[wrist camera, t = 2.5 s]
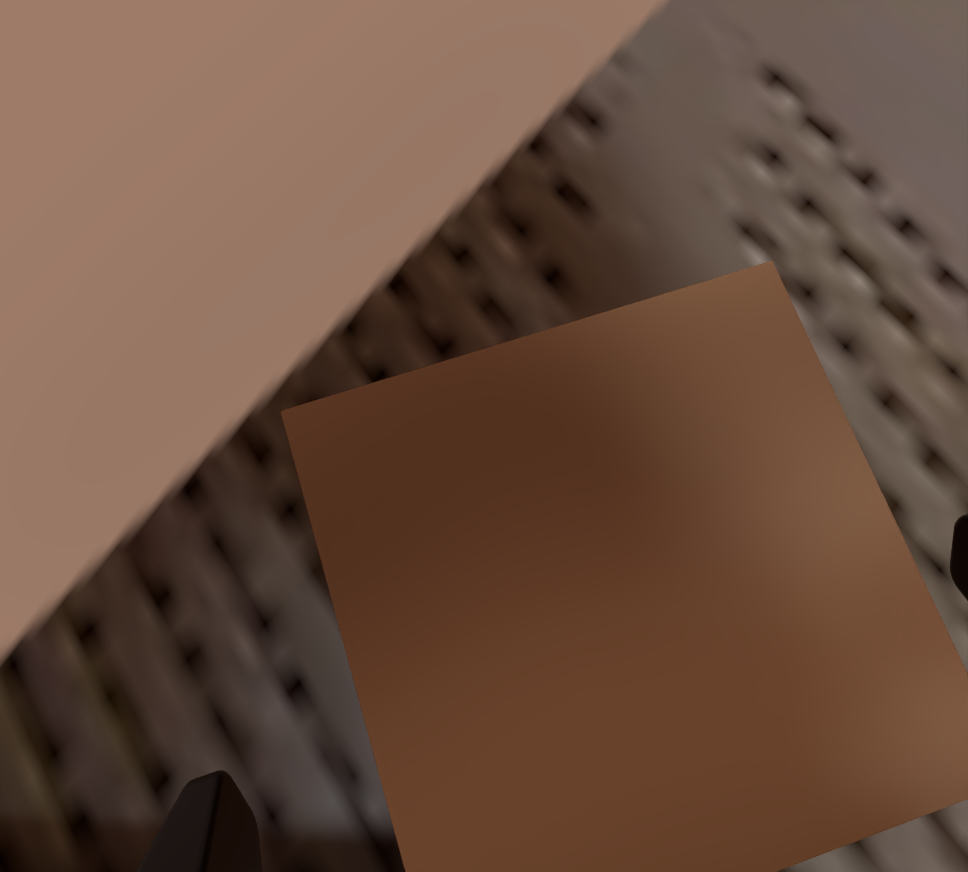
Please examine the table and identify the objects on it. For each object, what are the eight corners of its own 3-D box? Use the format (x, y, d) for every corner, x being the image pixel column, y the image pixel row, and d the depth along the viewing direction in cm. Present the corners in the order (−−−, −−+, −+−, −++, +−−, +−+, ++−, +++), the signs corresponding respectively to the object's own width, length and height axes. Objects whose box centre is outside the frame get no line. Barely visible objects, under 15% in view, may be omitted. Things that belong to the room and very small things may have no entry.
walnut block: (685, 703, 17) (1017, 779, 6) (466, 781, 17) (441, 999, 6) (604, 489, 18) (772, 260, 8) (399, 556, 18) (280, 411, 7)
